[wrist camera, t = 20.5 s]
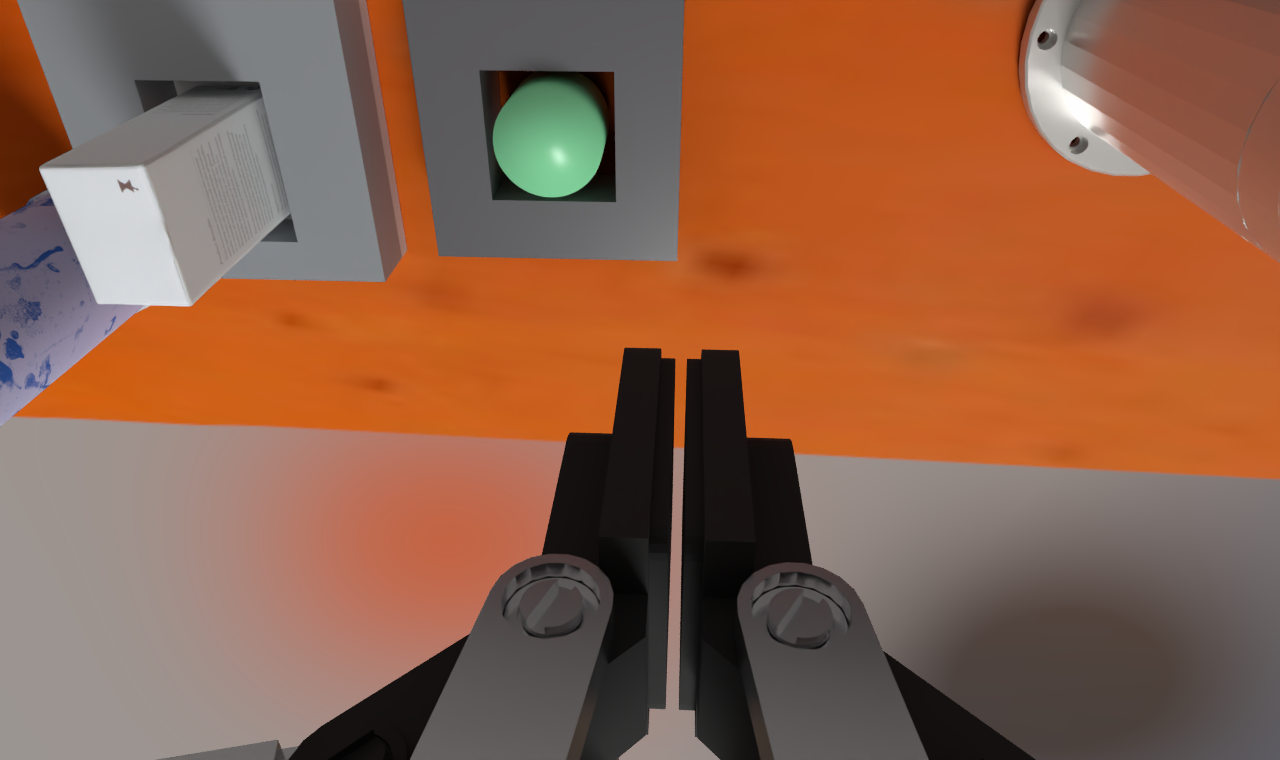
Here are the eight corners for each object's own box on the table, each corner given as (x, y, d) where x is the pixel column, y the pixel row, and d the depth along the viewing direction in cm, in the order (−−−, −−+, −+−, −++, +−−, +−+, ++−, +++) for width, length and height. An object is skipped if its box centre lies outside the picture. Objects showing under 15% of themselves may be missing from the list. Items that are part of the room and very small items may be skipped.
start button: (608, 67, 39) (601, 88, 36) (610, 170, 42) (603, 198, 39) (504, 66, 39) (487, 86, 36) (513, 168, 42) (498, 196, 39)
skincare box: (194, 83, 40) (31, 161, 30) (279, 83, 40) (143, 161, 30) (229, 202, 44) (93, 308, 34) (308, 202, 43) (195, 309, 33)
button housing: (684, -16, 38) (684, -2, 35) (677, 229, 44) (677, 261, 41) (426, -18, 38) (401, -5, 35) (457, 225, 45) (438, 256, 41)
